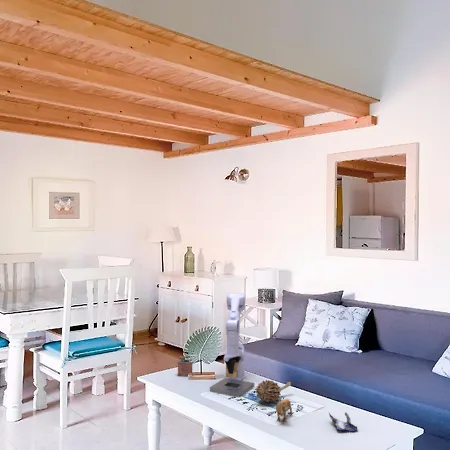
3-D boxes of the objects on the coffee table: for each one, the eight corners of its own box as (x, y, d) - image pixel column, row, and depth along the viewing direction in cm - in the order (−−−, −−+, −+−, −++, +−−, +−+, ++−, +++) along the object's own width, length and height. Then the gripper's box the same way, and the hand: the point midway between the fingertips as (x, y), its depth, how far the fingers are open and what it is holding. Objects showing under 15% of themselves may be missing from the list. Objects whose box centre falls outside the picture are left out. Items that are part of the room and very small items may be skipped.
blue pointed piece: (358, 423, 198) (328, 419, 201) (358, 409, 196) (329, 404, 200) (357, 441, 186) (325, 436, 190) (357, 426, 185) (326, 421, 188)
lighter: (193, 374, 257) (193, 356, 257) (192, 377, 253) (192, 357, 253) (178, 374, 258) (178, 355, 258) (176, 376, 254) (176, 357, 254)
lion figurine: (287, 425, 194) (287, 403, 194) (274, 424, 195) (274, 401, 195) (293, 411, 208) (293, 390, 208) (280, 410, 210) (281, 389, 209)
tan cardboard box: (228, 375, 238) (228, 360, 238) (237, 376, 236) (238, 362, 236) (225, 376, 235) (226, 362, 235) (235, 378, 233) (235, 363, 233)
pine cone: (267, 409, 211) (267, 386, 211) (250, 403, 217) (250, 381, 217) (297, 396, 227) (297, 374, 227) (280, 391, 233) (280, 370, 233)
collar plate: (225, 381, 246) (225, 377, 246) (254, 386, 239) (254, 382, 239) (209, 391, 232) (209, 387, 232) (239, 397, 225) (239, 392, 225)
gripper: (232, 340, 244) (232, 367, 244) (218, 346, 231) (217, 375, 231) (244, 341, 240) (244, 369, 240) (231, 348, 228) (231, 377, 228)
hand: (232, 372), depth 236 cm, fingers closed on tan cardboard box, 3 cm apart
